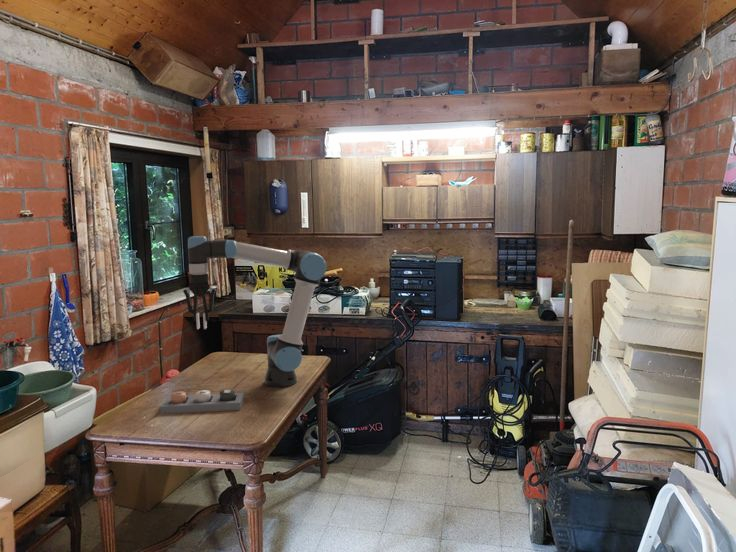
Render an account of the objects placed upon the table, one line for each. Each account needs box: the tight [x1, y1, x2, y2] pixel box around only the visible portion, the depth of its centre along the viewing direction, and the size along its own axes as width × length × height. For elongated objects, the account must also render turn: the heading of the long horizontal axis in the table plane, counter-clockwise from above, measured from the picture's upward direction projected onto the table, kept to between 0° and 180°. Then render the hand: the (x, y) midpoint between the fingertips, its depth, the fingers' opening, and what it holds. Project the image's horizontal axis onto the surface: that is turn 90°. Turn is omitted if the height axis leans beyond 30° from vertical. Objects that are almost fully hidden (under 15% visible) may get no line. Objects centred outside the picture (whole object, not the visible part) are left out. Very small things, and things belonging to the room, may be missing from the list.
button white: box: [194, 389, 211, 403], centre depth 226 cm, size 6×6×4 cm
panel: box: [159, 392, 245, 415], centre depth 226 cm, size 32×12×3 cm, turn 97°
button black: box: [219, 388, 236, 401], centre depth 227 cm, size 6×6×4 cm
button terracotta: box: [170, 390, 187, 404], centre depth 224 cm, size 6×6×4 cm
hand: (201, 328), depth 227 cm, fingers open, 2 cm apart
